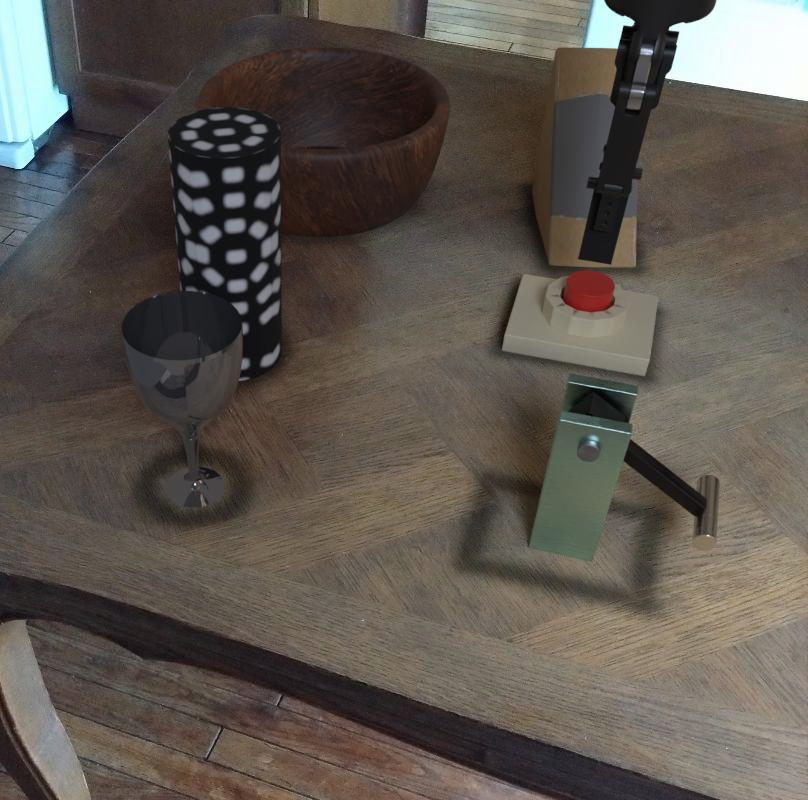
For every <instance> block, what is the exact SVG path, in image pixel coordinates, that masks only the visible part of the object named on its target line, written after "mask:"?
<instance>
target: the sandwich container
mask: <svg viewBox="0 0 808 800" xmlns="http://www.w3.org/2000/svg"><path fill="white" fill-rule="evenodd" d="M617 50H618V48H615V47H561V46H559V47H557V48H556V50H555V51H554V57H553V63H552V69H551V75H550V81H549V87H548V94H547V97H546V98H547V99H546V103H545V104H546V105H545V111H544V115H543V121H542V129H541V134H540V139H539V146H538V153H537V158H536V164H535V171H534V175H533V182H532V187H531V188H532V189H531V194H532V200H533V206H534V212H535V217H536V221H537V224H538V225H537V226H538V229H539V231H540V237H541V239H542V243H543V247H544V251H545V254H546V259H547V261H548V264H549V265H550V266H554V267H555V266H556V267H576V268H577V267H580V268H636V267H637V265H636V264H637V229H638V228H637V227H638V226H637V223H638V193H639V191H638V190H639V180H636V179H633V180H632V186H633V187H632V191H631V193H630V194H629V197H628V201H627V205H626V209H625V213H624V217H623V221H622V225H621V228H620V232H619V236H618V240H617V244H616V248H615V252H614V256H613V259H612V263H611V265H610V264H604V263H598V262H592V261H585V260H579V259H578V257H579V252H580V248H581V244H582V239H583V235H584V231H585V226H586V222H587V218H588V213H589V209H590V205H591V200H592V196H593V192H594V189H589V188H586V187H587V183H588V179H589V177H596V178H597V177H599V175H600V169H599V166H600V163H601V162H603V158H604V154H603V153H605V152H603V149H604V145H606V144H607V140H608V136H609V131H610V127H611V123H612V119H613V114H614V110H615V106H614V105H613V104H612V103H611V101H610V97H611V92H612V88H613V83H614V79H615V75H616V70H617V68H616V66H615V58H616V54H617ZM636 168H640V156H639V157H638V161H637V165H636Z"/></svg>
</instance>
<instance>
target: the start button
mask: <svg viewBox="0 0 808 800" xmlns="http://www.w3.org/2000/svg"><path fill="white" fill-rule="evenodd" d="M568 276H569V277H568V278H567V281H566V286H565V290H564V295H563V300H564V302H565V304H566V305H568V306H570V307H572V308H574V309H576V310H579V311H585V312H591V313H592V312H599V311H605V310H606V309H608V308H609V306H610V304H611V301H612V297H613V293H614V289H615V284H616V283H615V282H614V280H613V279H612V278H611V277H610V276H608V275H606V274H605V273H603V272H599V271H596V270H578V271H575V272H572V273H571V274H570V275H568ZM614 283H615V284H614Z"/></svg>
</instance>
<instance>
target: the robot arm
mask: <svg viewBox="0 0 808 800" xmlns="http://www.w3.org/2000/svg"><path fill="white" fill-rule="evenodd" d="M603 1H604V4H605V5H606V7H607V8H608V9H609V10H610V11H612V12H613V13H615V14H617V15H618V16H620V17H627V18H629V19H630V20H632V21H633V24H632V25H626V24H625V25H624V24H623V26H622V28H621V29H622V30H621V34H620V38H619V42H618V45H617V49H618V50H617V54H616V58H615V66H616V68H617V70H616V75H615V79H614V83H613V88H612V92H611V97H610V101H611V103H612V104H613V105H614V106H615V110H614V114H613V119H612V123H611V127H610V131H609V136H608V140H607V144H606V145H604V149H603V152H605V153H603V154H604V158H603V162H601V163H600V166H599V169H600V175H599V177H597V178H596V177H589V179H588V183H587V187H586V188H589V189H594V192H593V196H592V200H591V205H590V209H589V213H588V218H587V222H586V226H585V231H584V235H583V239H582V244H581V248H580V252H579V257H578V259H579V260H585V261H592V262H598V263H604V264H610V265H611V263H612V259H613V256H614V252H615V248H616V244H617V240H618V236H619V232H620V228H621V225H622V221H623V217H624V213H625V209H626V205H627V201H628V197H629V194H630V193H631V191H632V187H633V186H632V180H633V179H636V180H638V181H641V180H642V176H643V170H644V168H642V167H641V168H640V167H639V168H636V165H637V161H638V157H639V158H640V153H641V149H642V146H643V142H644V138H645V134H646V130H647V126H648V123H649V119H650V116H651V112H652V110H655V109H656V108H657V107H658V106H659V104H660V100H661V96H662V92H663V88H664V84H665V81H666V76H667V75H668V74H669V73H670V72H671V70H672V67H673V64H674V60H675V57H676V52H677V50H678V49H677V48H678V44H677V43H678V41H679V40H678V39H679V35H680V31H679V30H678V31H677V30H670V28H671V27H673V26H676V25H679V24H683V23H684V24H691V23H695V22H697V21H700V20H702V19H704V18H706V17H707V16H709V15H710V14H711V13H712V12H713V10H714V9H715V6H716V4H717V0H603Z"/></svg>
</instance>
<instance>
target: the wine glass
mask: <svg viewBox="0 0 808 800" xmlns="http://www.w3.org/2000/svg"><path fill="white" fill-rule="evenodd" d="M121 337H122V345H123V346H122V347H123V353H124V358H125V363H126V368H127V371H128V374H129V377H130V380H131V383H132V385H133V387H134V389H135V392H136V394H137V397H138V399H139V400H140V402H141V403H142V405H143V406H144V407H145V409H146V410H147V411H148V412H150V413H151V414H152V415H153V416H154V417H156V418H157V419H159V420H161V421H162V422H165V423H166V424H168V425H169V426H171V427H173V428H174V429H175V430H176V431H177V432H178V433H179V435H180V436H181V439H182V442H183V445H184V449H185V453H186V459H187V467H185V468H182V469H179V470H177V471H175V472H174V473H173V474H171V476H170V477H168V478H167V481H166V483H165V485H164V492H165V495H166V496H167V498H168V499H169V500H170V501H171V502H172V503H174V504H175V505H178V506H180V507H184V508H190V509H191V508H194V509H196V508H202V507H206V506H209V505H211V504H213V503H215V502H217V501H218V500H219V499H220V498H221V497H222V495H223V494H224V492H225V489H226V484H225V480H224V478H223V477H222V476H221V474H220V473H218V472H217V471H216V470H213V469H212V468H208V467H203V466H200V465H199V451H200V450H199V449H200V441H201V440H200V439H201V434H202V432H203V430H204V428H206V426H207V425H208V424H209V423H211V422H212V421H213V420H214V419H215V418H217V417H218V416H219V415H220V414H222V413H223V411H225V410H226V408H227V407H228V406H229V405H230V403H231V402H232V401H233V399H234V397H235V394H236V392H237V388H238V385H239V382H240V381H239V377H240V373H241V366H242V357H243V325H242V319H241V315H240V313H239V312H238V310H237V309H236V308H235V307H234V306H233V305H232V304H231V303H229V302H228V301H226V300H225V299H222V298H220V297H218V296H215V295H212V294H209V293H204V292H197V291H181V290H178V291H177V290H176V291H169V292H168V291H167V292H164V293H159V294H156V295H153V296H150V297H148V298H146V299H143V300H141V301H140V302H138V303H136V304H135V305H134V306H133V307H131V309H130V310H128V311H127V313H126V314H125V316H124V318H123V319H122V323H121Z"/></svg>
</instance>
